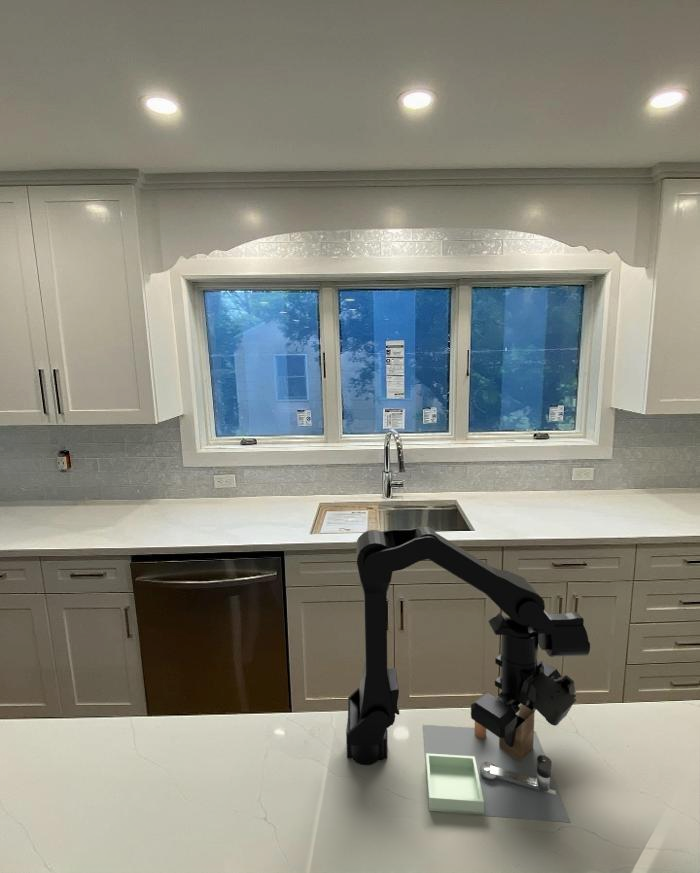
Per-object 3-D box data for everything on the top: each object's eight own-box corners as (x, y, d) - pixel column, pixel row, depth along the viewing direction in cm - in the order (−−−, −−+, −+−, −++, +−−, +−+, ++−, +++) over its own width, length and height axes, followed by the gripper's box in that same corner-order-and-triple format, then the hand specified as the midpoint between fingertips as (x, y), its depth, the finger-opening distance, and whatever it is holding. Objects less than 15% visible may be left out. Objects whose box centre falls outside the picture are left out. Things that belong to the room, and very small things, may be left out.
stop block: (520, 761, 74) (521, 723, 73) (499, 746, 78) (500, 709, 77) (533, 748, 77) (534, 711, 76) (511, 734, 80) (512, 698, 79)
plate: (428, 818, 67) (428, 787, 66) (422, 730, 83) (422, 705, 82) (570, 829, 64) (571, 797, 64) (535, 737, 81) (536, 711, 80)
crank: (479, 777, 71) (479, 750, 71) (480, 763, 74) (481, 737, 73) (550, 797, 68) (551, 770, 67) (549, 782, 70) (550, 755, 70)
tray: (429, 810, 67) (429, 797, 66) (426, 765, 74) (426, 753, 74) (483, 814, 66) (483, 801, 65) (474, 768, 73) (474, 756, 73)
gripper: (535, 708, 63) (532, 806, 65) (594, 654, 74) (589, 738, 77) (469, 669, 71) (467, 757, 74) (531, 625, 83) (528, 702, 85)
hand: (516, 738), depth 77 cm, fingers closed on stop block, 4 cm apart
